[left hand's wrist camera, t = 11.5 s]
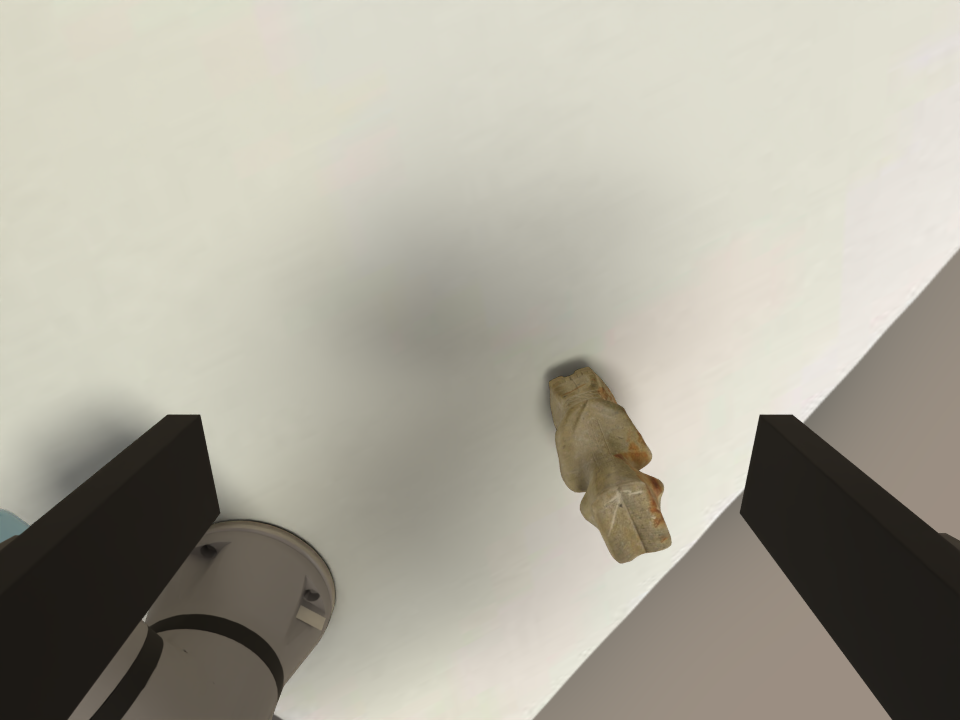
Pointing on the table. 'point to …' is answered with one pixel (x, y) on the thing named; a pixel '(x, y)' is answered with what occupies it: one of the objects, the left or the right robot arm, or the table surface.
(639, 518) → the sculpture
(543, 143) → the table surface
